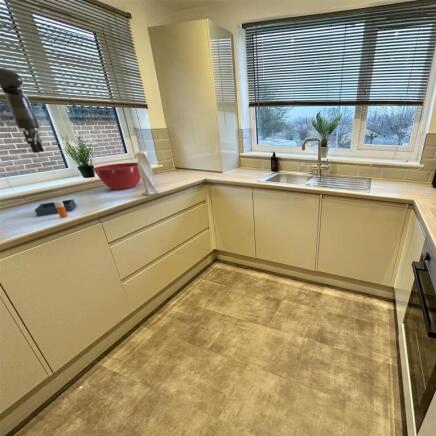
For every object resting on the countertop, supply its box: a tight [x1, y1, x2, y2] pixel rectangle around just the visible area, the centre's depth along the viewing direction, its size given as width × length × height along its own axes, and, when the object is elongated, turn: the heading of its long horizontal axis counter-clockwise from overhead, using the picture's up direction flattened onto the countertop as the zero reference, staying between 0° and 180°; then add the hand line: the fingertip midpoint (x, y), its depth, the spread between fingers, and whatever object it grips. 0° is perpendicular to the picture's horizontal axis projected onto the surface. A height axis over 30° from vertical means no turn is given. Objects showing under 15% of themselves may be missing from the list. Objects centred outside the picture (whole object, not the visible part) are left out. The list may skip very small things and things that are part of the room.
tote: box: [34, 199, 77, 217], centre depth 124 cm, size 13×11×4 cm
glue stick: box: [53, 200, 69, 219], centre depth 114 cm, size 3×3×8 cm
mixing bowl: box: [92, 162, 141, 191], centre depth 168 cm, size 28×28×16 cm
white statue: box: [133, 148, 160, 197], centre depth 148 cm, size 8×8×28 cm
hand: (38, 152), depth 123 cm, fingers open, 8 cm apart
